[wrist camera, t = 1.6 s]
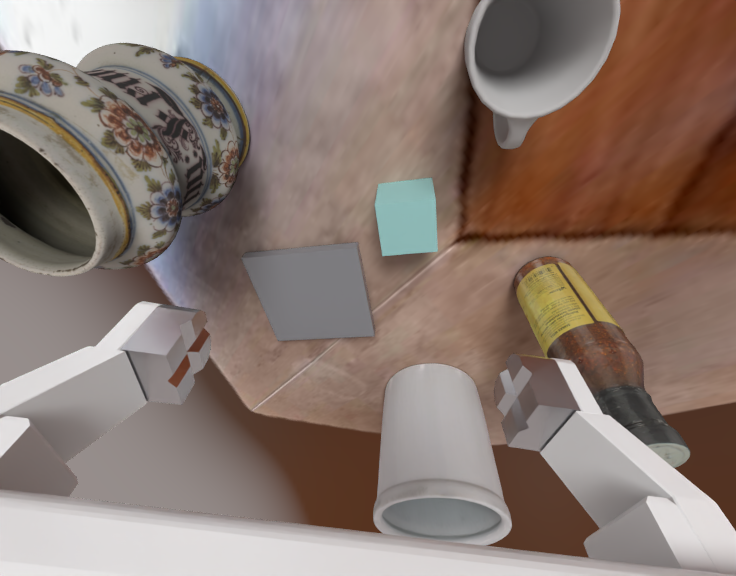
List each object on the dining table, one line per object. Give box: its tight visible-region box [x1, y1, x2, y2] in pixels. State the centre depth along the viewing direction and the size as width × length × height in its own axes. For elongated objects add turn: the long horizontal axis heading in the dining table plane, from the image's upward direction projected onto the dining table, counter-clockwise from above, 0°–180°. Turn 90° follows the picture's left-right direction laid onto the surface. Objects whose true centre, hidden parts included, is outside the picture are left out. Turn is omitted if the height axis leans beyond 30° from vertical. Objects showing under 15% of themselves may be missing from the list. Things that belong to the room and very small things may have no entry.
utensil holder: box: [373, 363, 512, 546], centre depth 44 cm, size 15×15×18 cm
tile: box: [241, 242, 375, 341], centre depth 41 cm, size 13×13×1 cm
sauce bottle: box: [514, 257, 690, 468], centre depth 29 cm, size 6×6×20 cm
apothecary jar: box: [0, 43, 250, 276], centre depth 23 cm, size 12×12×18 cm
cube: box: [375, 178, 438, 256], centre depth 31 cm, size 5×5×5 cm
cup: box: [464, 0, 620, 149], centre depth 22 cm, size 8×10×8 cm
